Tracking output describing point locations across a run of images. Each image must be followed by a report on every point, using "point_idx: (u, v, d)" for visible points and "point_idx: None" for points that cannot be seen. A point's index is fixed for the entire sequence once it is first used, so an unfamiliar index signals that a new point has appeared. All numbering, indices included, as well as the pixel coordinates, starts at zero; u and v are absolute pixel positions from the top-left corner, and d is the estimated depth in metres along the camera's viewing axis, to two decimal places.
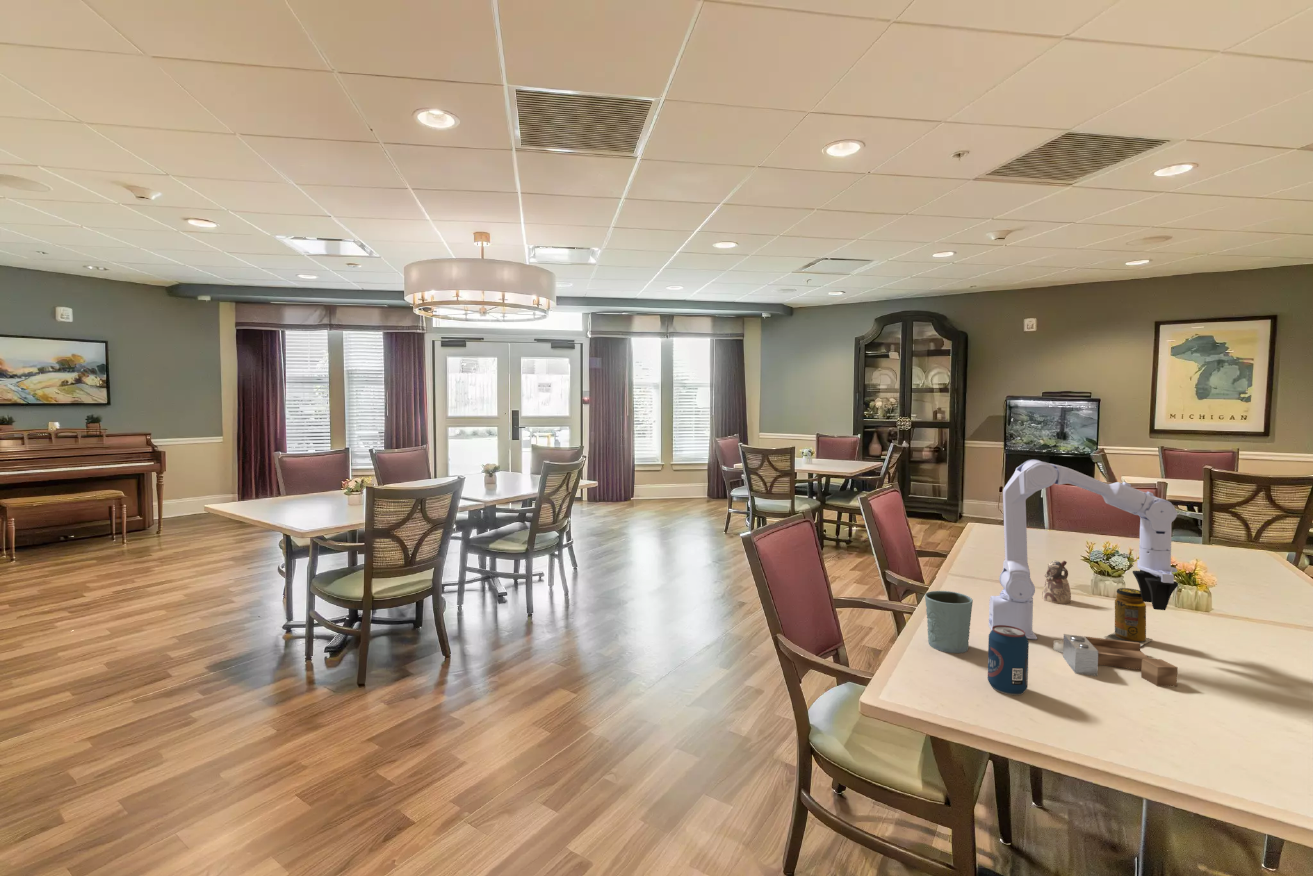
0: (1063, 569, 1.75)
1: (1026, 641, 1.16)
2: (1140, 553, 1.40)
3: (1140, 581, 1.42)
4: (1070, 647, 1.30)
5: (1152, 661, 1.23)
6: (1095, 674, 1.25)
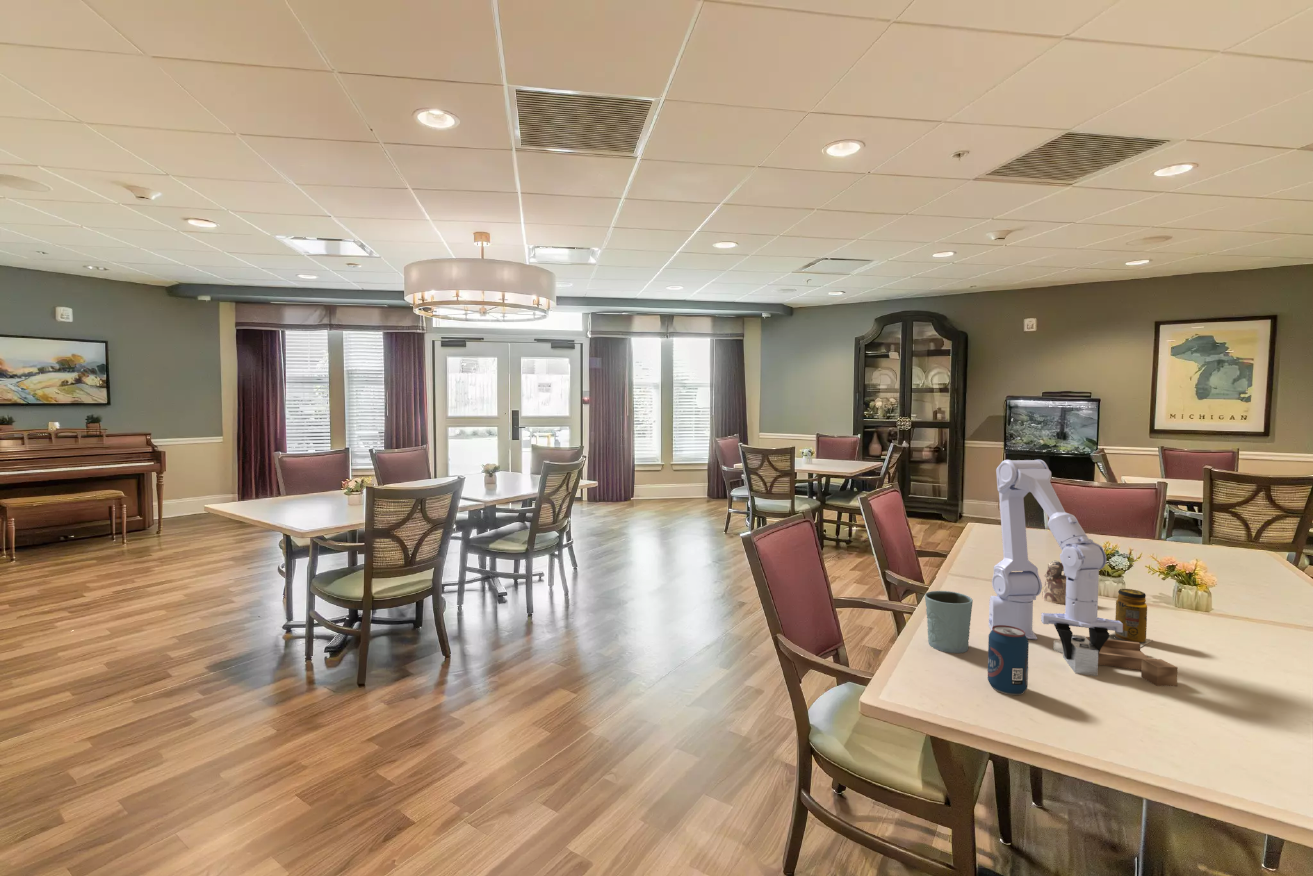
0: (1063, 569, 1.75)
1: (1026, 641, 1.16)
2: None
3: (1089, 636, 1.30)
4: None
5: (1152, 661, 1.23)
6: (1095, 673, 1.25)
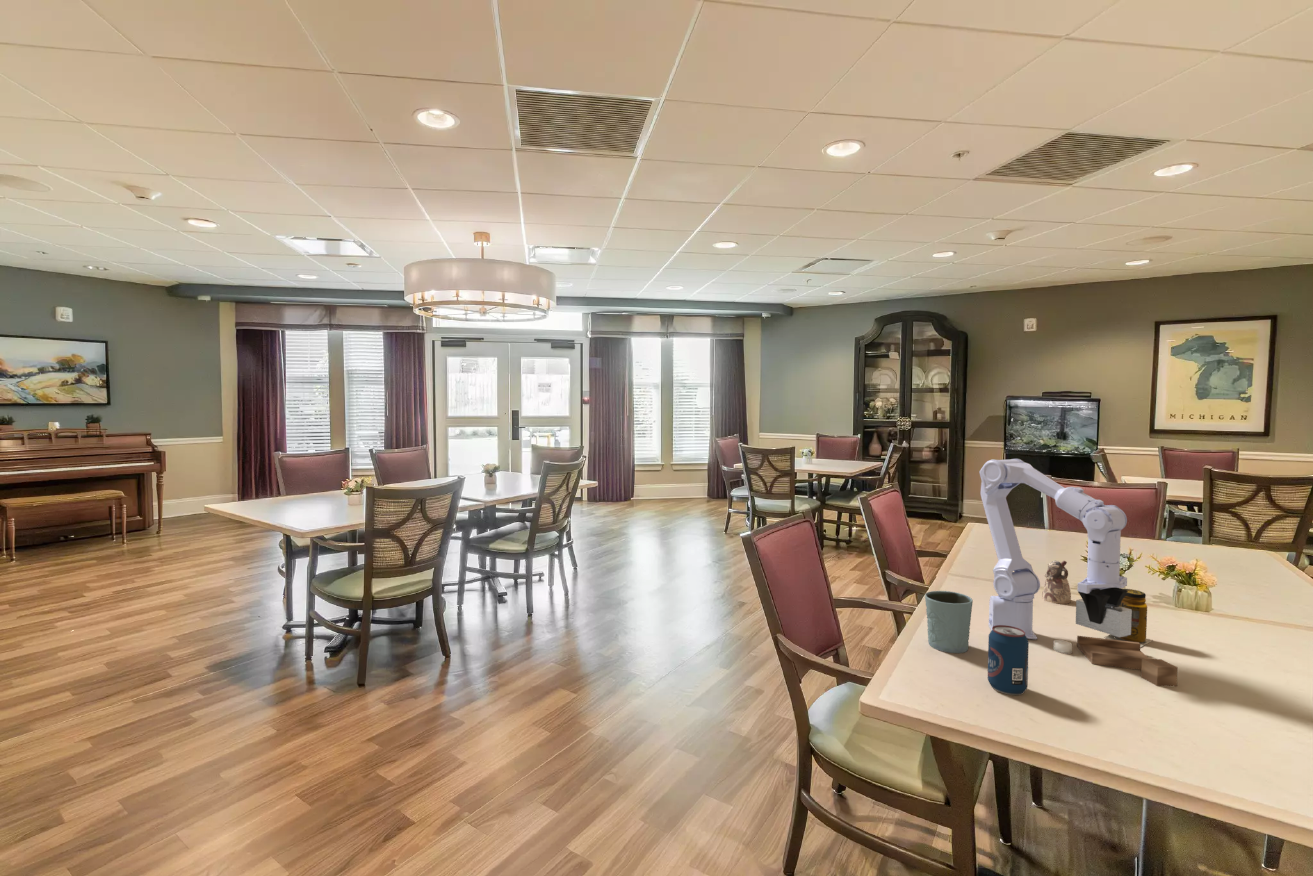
0: (1063, 569, 1.75)
1: (1026, 641, 1.16)
2: None
3: None
4: None
5: (1152, 661, 1.23)
6: (1130, 632, 1.28)
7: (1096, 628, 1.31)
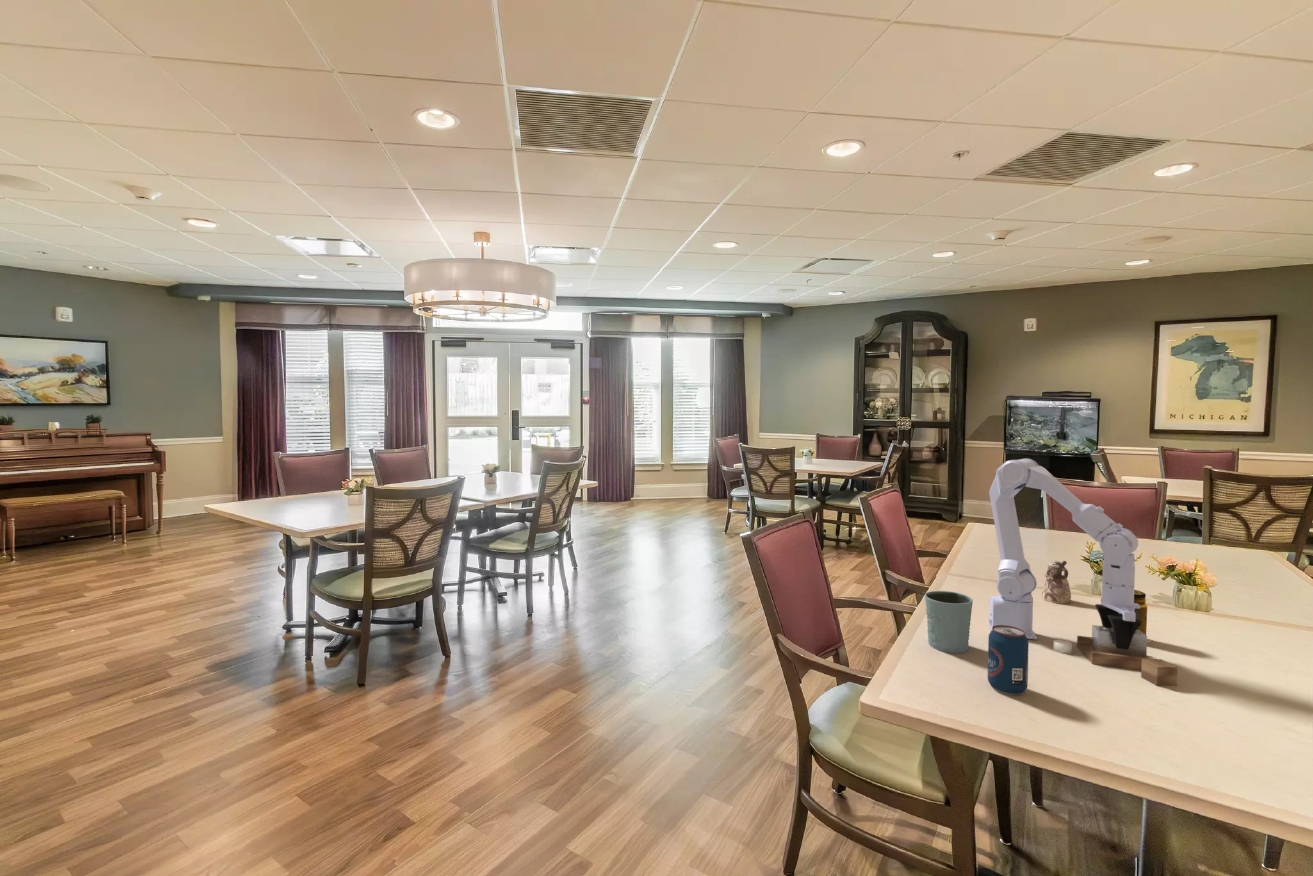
0: (1063, 569, 1.75)
1: (1026, 641, 1.16)
2: (1103, 588, 1.34)
3: (1102, 616, 1.38)
4: None
5: (1152, 661, 1.23)
6: None
7: None
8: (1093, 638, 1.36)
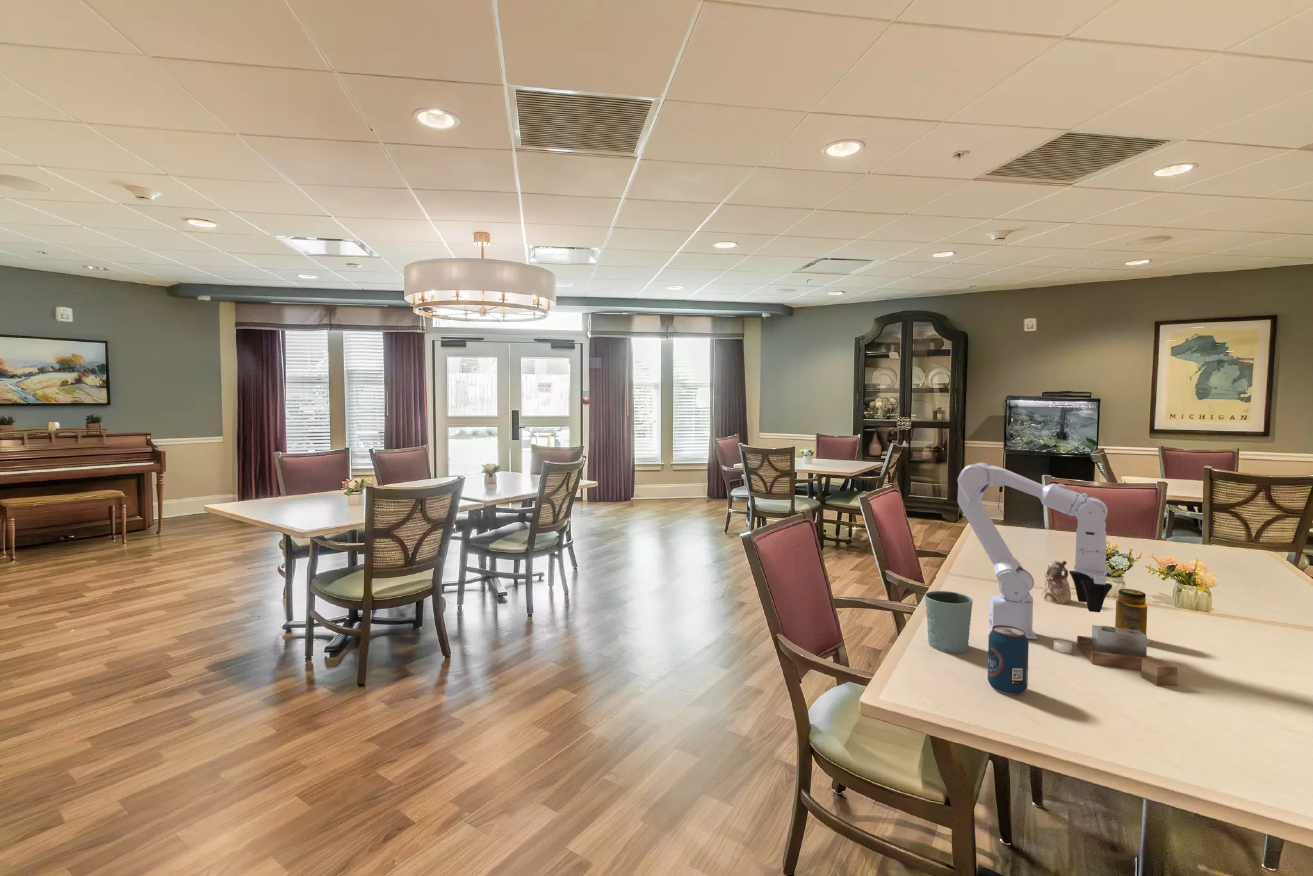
0: (1063, 569, 1.75)
1: (1026, 641, 1.16)
2: (1076, 554, 1.40)
3: (1076, 581, 1.44)
4: (1126, 638, 1.32)
5: (1152, 661, 1.23)
6: None
7: None
8: (1093, 638, 1.36)
